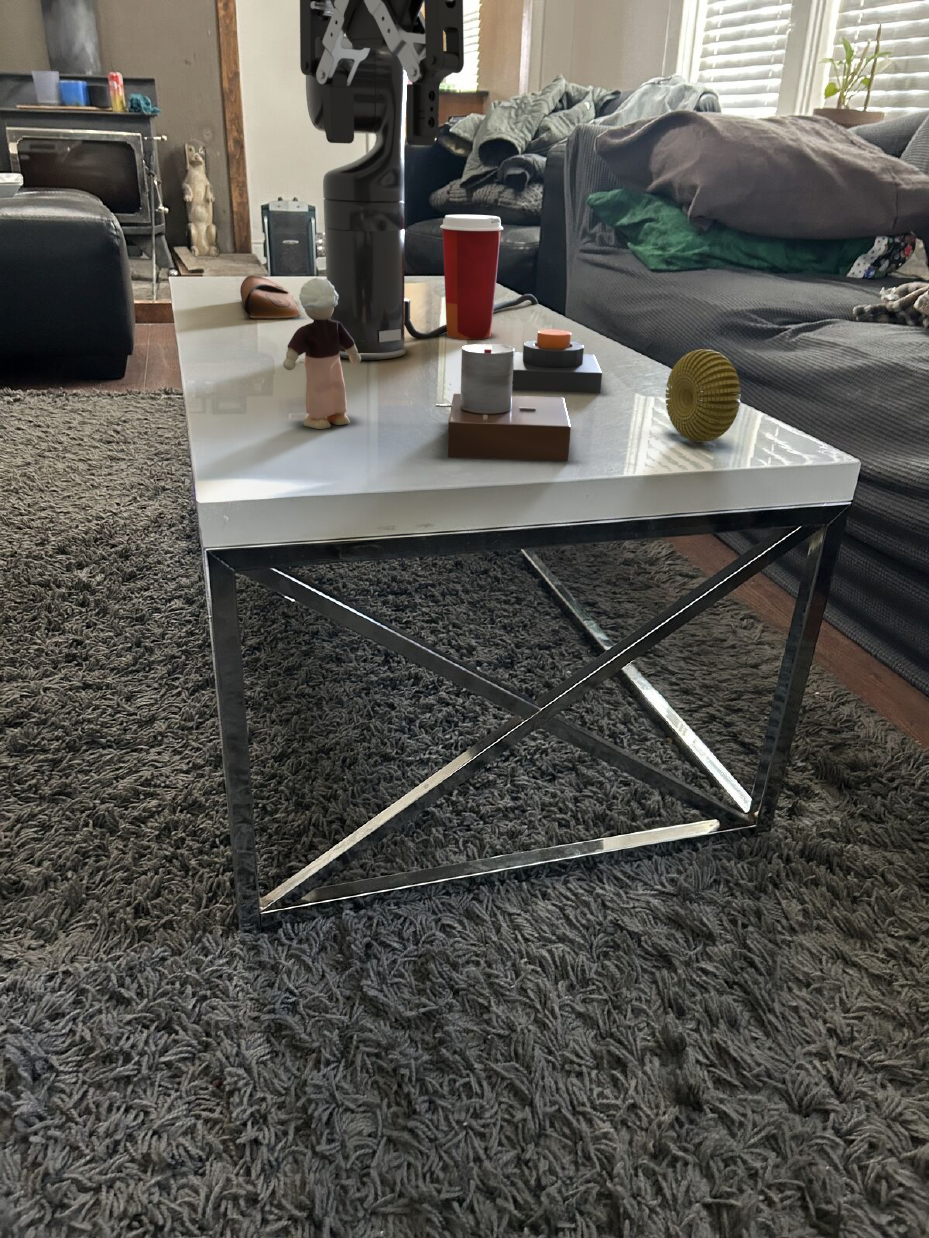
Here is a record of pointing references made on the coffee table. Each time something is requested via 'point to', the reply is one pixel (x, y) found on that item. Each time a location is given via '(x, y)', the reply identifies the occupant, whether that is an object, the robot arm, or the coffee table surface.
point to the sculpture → (702, 395)
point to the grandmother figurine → (322, 355)
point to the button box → (556, 369)
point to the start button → (553, 339)
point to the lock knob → (486, 378)
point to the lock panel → (511, 431)
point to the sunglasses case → (267, 299)
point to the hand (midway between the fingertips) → (378, 144)
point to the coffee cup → (470, 273)
